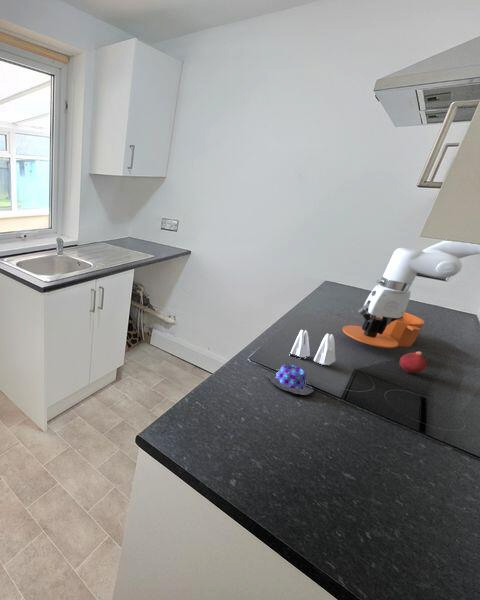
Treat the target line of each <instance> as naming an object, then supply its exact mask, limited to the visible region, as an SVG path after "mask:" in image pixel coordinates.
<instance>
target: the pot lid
mask: <svg viewBox="0 0 480 600" xmlns="http://www.w3.org/2000/svg"><path fill="white" fill-rule="evenodd" d="M383 322H384V319H382V318H380V317H375V319H374V320H373V322H372V323H373V326H372V328H371V330H370V332H369V333H367V332H365V331H364V330H363V329H362V325H361V326H360V325H354V324H353V325H351V324H349V325H344V326H343V327H342V332H343V333H344V334H345V335H346V336H348V337H349V338H351V339H353V340H356V341H358V342H360V343H363V344H367V345H370V346H374V347H378V348H383V349H384V348H385V349H395V348H397V347H399V346H398V342H397V341H396V340H395V339H394V338H392V337H390V336H389V335H387V334H384V333H383V334H379V333H378V332H379V330H380V328H381V326H382V324H383Z"/></svg>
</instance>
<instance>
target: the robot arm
mask: <svg viewBox="0 0 480 600" xmlns="http://www.w3.org/2000/svg"><path fill="white" fill-rule="evenodd" d="M475 255H480V245H477V244H470V243H461V242H452V241H445V240H442V241H440V242H438V243H435V244H432V245H430V246H428V247H426V248H424V249H422V250H421V249H417V248H411V247H398V248H396V249H395V250H394V251H393V253H392V255H391V258H390V259H389V261H388V264H387V266H386V269H385V270H384V272H383V274H382V277H380V279H376V284H378V285H375V286H374V288H372V290H371V292H370V293H369V295H368V296H367V298H366V300H365V302H364V304H363V306H362V307H361V308H360V309H358V311H357V313H359V314H360V315H361V316H362V317H363V319H364V322H363V323H362V325H361V327H362V329H363V330H364V331H365V332H367V333H369V332H370V330H371V328H372V326H373V323H372V322H373V320H374V319H375V317H376V316H380V317H382V319H384V322H383V324H382V326H381V328H380V330H379V332H378V333H379V334H383V332H384V330H385V328H386V326H387V325H389V324H390V323H391V322H393V321H395V320H398V319H401V318H403V314H404V312H406V309H407V307H408V305H409V302H410V299H411V292H412V291H411V290H410V288H411V287H412V284H413V282H414V280H415V279H416V277H417V275H418V274H421V275H425V276H428V277H432V278H437V279H446V278H450V277H453V276H456V275H457V274H459V273H460V272H461V271H462V269H463V268H462V267H463V264H462V261H461V260H460V259H462V258H466V257H470V256H475ZM370 316H371V317H370Z"/></svg>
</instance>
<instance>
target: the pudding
mask: <svg viewBox="0 0 480 600" xmlns="http://www.w3.org/2000/svg"><path fill="white" fill-rule="evenodd" d="M278 370H279V371H278V372H277V373H276V377H275V378H276V379H277V380H278V381H280V383H281V384H283V385H286V386H289V387H290V388H294V389H296V388H298V389H303V388H304V387H305V386H306V380H307V374H306V371H305V370H304V369H303V368H301V367H299V366H298V365H294V364H291V363H287V364H283V365H282V366H281V367H280V368H279V369H278Z"/></svg>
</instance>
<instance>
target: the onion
mask: <svg viewBox="0 0 480 600" xmlns="http://www.w3.org/2000/svg"><path fill="white" fill-rule="evenodd" d="M398 364H399V366H400V367H401V369H402V370H403V371H404V372H406V373H407V374H415V373H416V374H417V373H420V372H422V371H425V370H426V368H427V361H426V359H425V357H424V356H423V351H415V352H408V353H406V354H405V353H404V354H403V355H402V356H401V357H400V358H399V362H398Z"/></svg>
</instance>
